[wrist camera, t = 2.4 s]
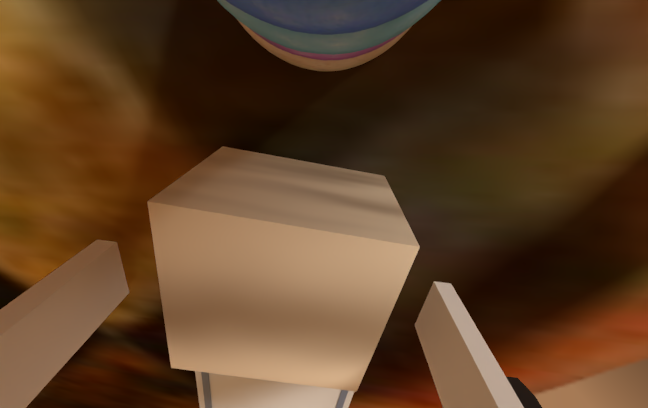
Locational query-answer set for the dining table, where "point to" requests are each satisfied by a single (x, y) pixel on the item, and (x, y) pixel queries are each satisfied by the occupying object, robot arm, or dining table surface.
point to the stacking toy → (327, 28)
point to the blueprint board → (264, 393)
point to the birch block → (278, 267)
